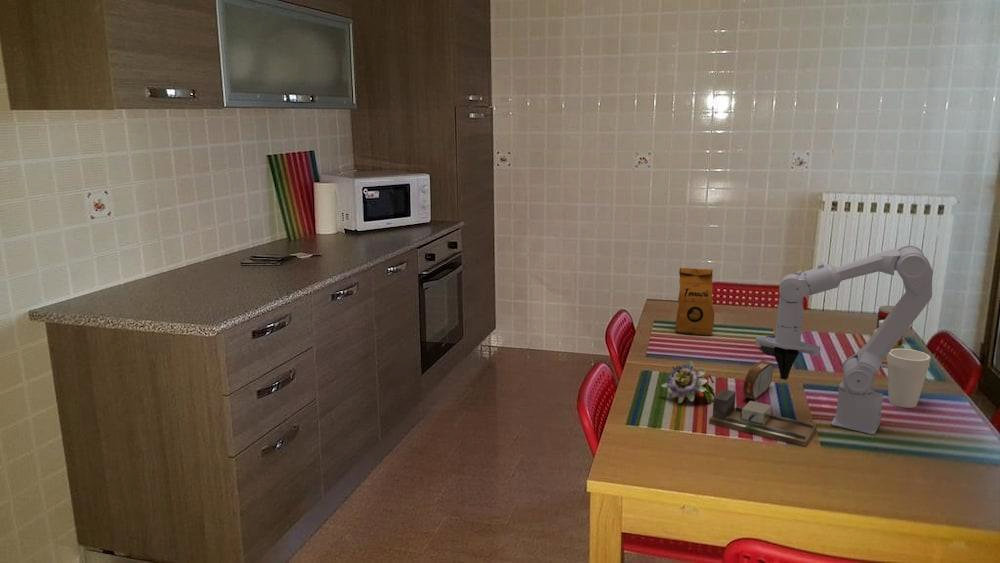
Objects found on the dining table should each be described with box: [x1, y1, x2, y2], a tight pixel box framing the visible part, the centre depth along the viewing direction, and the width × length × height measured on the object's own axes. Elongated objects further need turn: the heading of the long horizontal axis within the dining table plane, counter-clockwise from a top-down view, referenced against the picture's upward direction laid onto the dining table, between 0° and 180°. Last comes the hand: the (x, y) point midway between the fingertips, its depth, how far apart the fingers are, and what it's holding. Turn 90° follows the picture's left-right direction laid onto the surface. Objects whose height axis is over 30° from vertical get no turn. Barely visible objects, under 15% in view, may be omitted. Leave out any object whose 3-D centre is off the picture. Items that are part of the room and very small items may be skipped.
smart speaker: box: [760, 335, 775, 356], centre depth 227 cm, size 9×9×4 cm
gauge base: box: [708, 388, 818, 447], centre depth 173 cm, size 22×10×6 cm, turn 54°
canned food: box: [876, 305, 904, 346], centre depth 234 cm, size 8×8×11 cm
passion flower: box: [660, 360, 716, 405], centre depth 190 cm, size 11×11×12 cm
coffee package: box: [675, 267, 715, 336], centre depth 244 cm, size 10×12×22 cm
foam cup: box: [887, 348, 931, 409], centre depth 186 cm, size 10×9×13 cm
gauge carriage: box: [740, 400, 772, 425], centre depth 173 cm, size 6×8×3 cm
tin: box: [742, 359, 774, 400], centre depth 193 cm, size 15×3×8 cm, turn 141°
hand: (784, 378), depth 179 cm, fingers closed
